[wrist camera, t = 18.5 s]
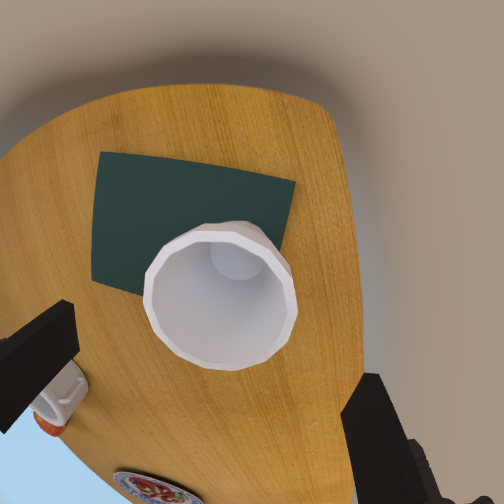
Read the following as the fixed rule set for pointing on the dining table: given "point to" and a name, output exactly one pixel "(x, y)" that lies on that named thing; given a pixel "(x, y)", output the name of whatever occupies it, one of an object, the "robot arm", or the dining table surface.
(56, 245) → the dining table surface
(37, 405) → the mug
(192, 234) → the foam cup
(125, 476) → the ceramic plate
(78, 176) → the dining table surface
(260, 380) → the dining table surface
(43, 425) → the apple
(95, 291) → the dining table surface
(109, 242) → the mat
